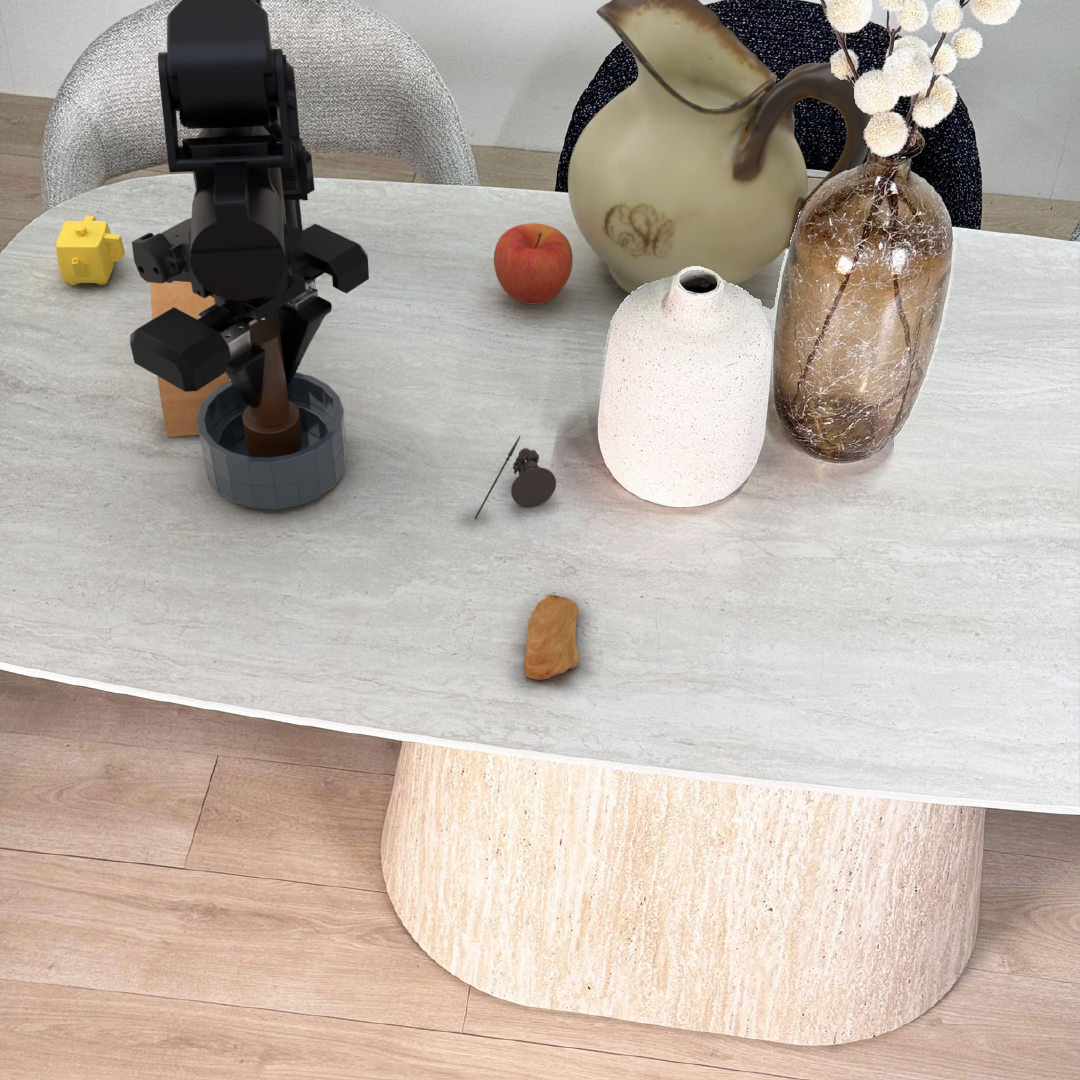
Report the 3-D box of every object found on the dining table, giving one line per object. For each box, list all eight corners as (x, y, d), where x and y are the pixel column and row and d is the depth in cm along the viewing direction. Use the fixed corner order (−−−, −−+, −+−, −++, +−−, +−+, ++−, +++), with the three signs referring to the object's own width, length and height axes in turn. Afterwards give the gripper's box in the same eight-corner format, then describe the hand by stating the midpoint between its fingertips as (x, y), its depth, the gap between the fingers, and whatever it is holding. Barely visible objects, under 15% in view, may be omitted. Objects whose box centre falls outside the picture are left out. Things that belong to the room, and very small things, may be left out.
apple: (549, 270, 124) (553, 197, 119) (582, 310, 120) (588, 236, 114) (480, 285, 122) (481, 212, 116) (512, 327, 117) (515, 252, 112)
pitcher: (542, 216, 131) (558, -29, 113) (759, 206, 135) (808, -32, 117) (584, 348, 116) (611, 90, 98) (828, 333, 120) (896, 82, 102)
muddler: (274, 418, 103) (259, 306, 95) (314, 441, 102) (301, 328, 94) (235, 446, 101) (216, 333, 93) (275, 469, 99) (259, 356, 91)
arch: (237, 295, 119) (223, 200, 112) (236, 432, 106) (220, 334, 98) (174, 299, 119) (155, 203, 111) (164, 437, 105) (143, 338, 98)
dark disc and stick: (519, 435, 96) (502, 407, 99) (473, 518, 99) (458, 489, 102) (577, 451, 99) (559, 423, 102) (531, 531, 102) (515, 502, 105)
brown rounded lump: (495, 666, 89) (556, 701, 88) (498, 649, 88) (560, 684, 87) (546, 594, 94) (605, 626, 93) (550, 576, 92) (611, 609, 91)
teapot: (120, 299, 118) (109, 251, 115) (57, 299, 118) (44, 251, 114) (135, 252, 124) (125, 205, 120) (75, 252, 123) (63, 205, 120)
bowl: (276, 405, 108) (269, 353, 104) (375, 459, 104) (372, 407, 100) (178, 474, 102) (166, 421, 98) (279, 535, 97) (271, 482, 93)
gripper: (256, 128, 95) (278, 302, 106) (54, 231, 84) (102, 412, 95) (368, 177, 91) (378, 353, 102) (170, 292, 80) (206, 475, 91)
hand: (268, 394), depth 98 cm, fingers closed on muddler, 3 cm apart
